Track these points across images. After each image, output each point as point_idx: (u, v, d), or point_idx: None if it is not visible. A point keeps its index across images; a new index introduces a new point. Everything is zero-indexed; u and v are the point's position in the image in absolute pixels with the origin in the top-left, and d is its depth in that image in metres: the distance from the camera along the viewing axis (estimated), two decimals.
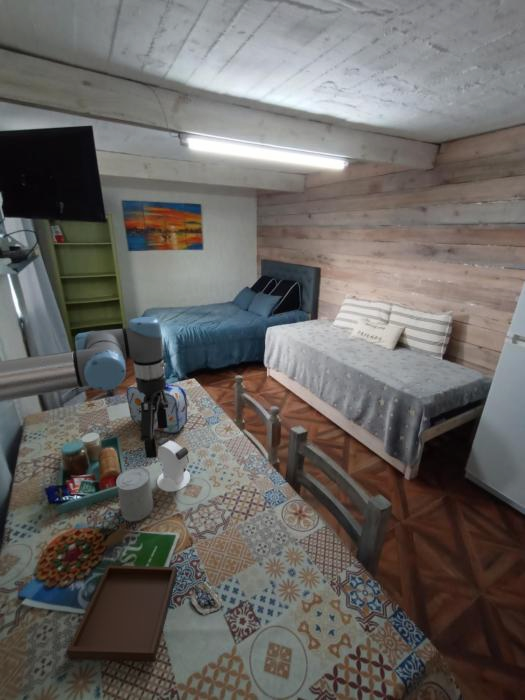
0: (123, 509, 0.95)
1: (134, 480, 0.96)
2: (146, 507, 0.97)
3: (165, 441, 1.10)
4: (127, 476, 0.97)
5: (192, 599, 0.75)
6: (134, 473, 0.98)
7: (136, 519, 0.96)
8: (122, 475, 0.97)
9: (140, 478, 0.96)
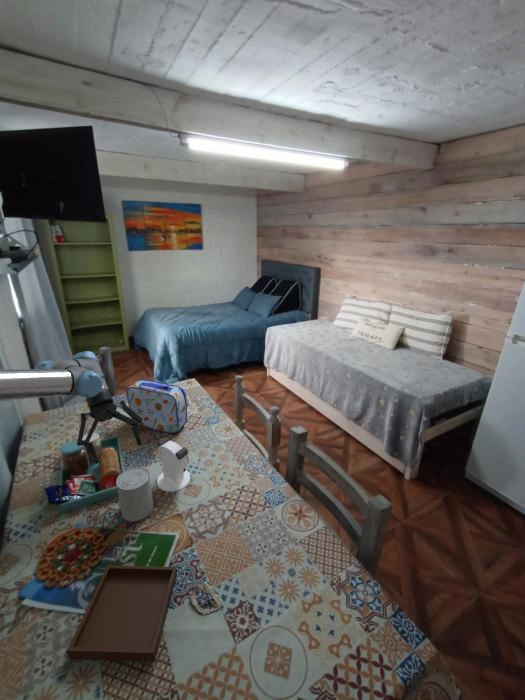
0: (123, 509, 0.95)
1: (134, 480, 0.96)
2: (146, 507, 0.97)
3: (165, 441, 1.10)
4: (127, 476, 0.97)
5: (192, 599, 0.75)
6: (134, 473, 0.98)
7: (136, 519, 0.96)
8: (122, 475, 0.97)
9: (140, 478, 0.96)
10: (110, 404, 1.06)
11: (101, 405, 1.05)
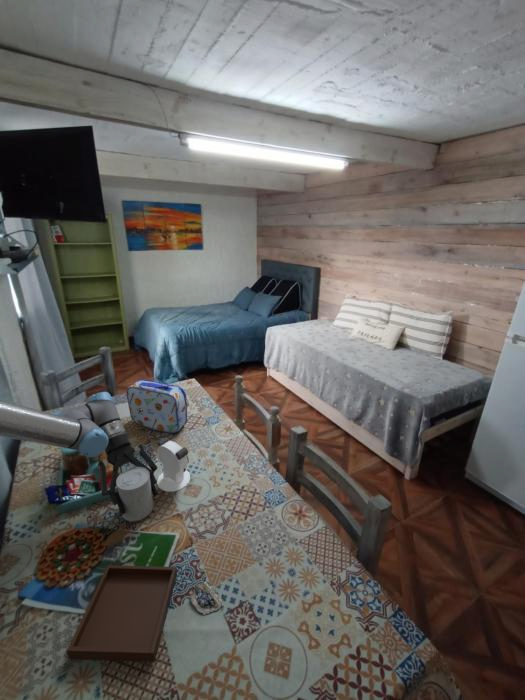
0: None
1: (134, 480, 0.96)
2: (146, 507, 0.97)
3: (165, 441, 1.10)
4: (127, 476, 0.97)
5: (192, 599, 0.75)
6: (134, 473, 0.98)
7: (136, 519, 0.96)
8: (122, 475, 0.97)
9: (140, 478, 0.96)
10: (128, 447, 1.02)
11: (118, 449, 1.00)
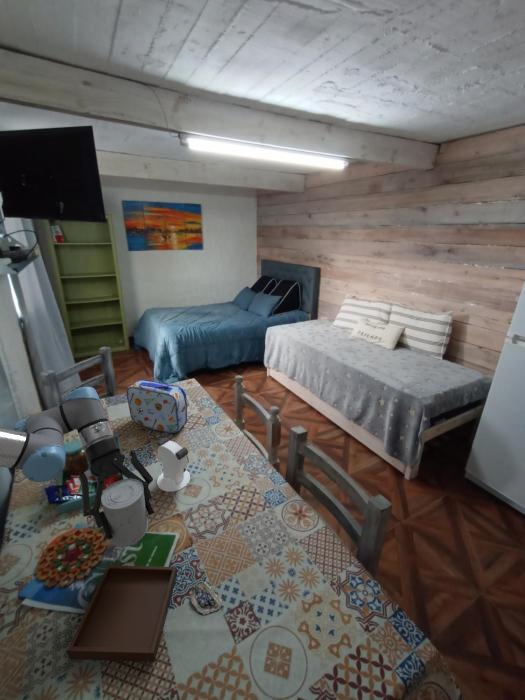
0: None
1: (124, 495, 0.77)
2: (138, 529, 0.78)
3: (165, 441, 1.10)
4: (116, 490, 0.78)
5: (192, 599, 0.75)
6: (124, 486, 0.79)
7: (126, 544, 0.77)
8: (109, 489, 0.78)
9: (131, 493, 0.77)
10: (116, 454, 0.83)
11: (105, 457, 0.81)
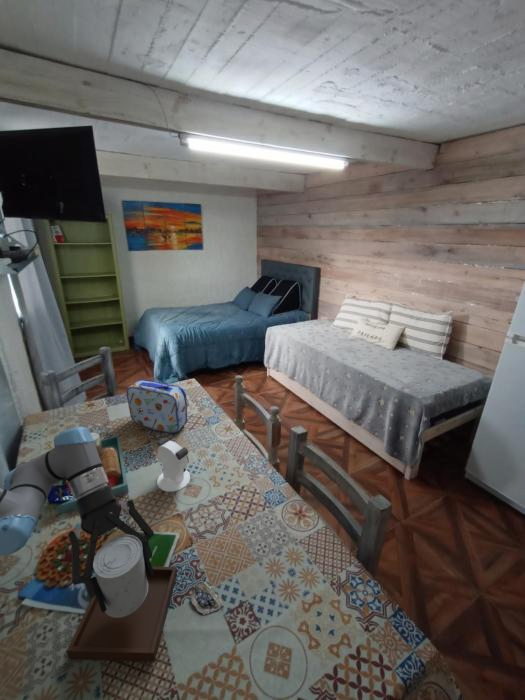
0: (104, 601, 0.66)
1: (120, 559, 0.66)
2: (137, 596, 0.67)
3: (165, 441, 1.10)
4: (110, 551, 0.67)
5: (192, 599, 0.75)
6: (120, 545, 0.69)
7: (123, 615, 0.67)
8: (103, 550, 0.68)
9: (128, 555, 0.67)
10: (112, 506, 0.72)
11: (98, 510, 0.70)
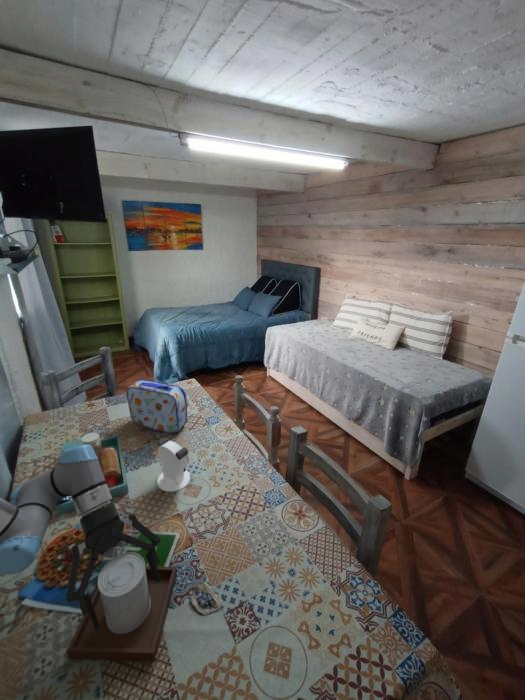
0: (108, 618, 0.68)
1: (123, 577, 0.68)
2: (140, 613, 0.69)
3: (165, 441, 1.10)
4: (114, 569, 0.69)
5: (192, 599, 0.75)
6: (123, 563, 0.71)
7: (126, 631, 0.68)
8: (107, 568, 0.70)
9: (132, 573, 0.69)
10: (115, 523, 0.74)
11: (102, 527, 0.72)
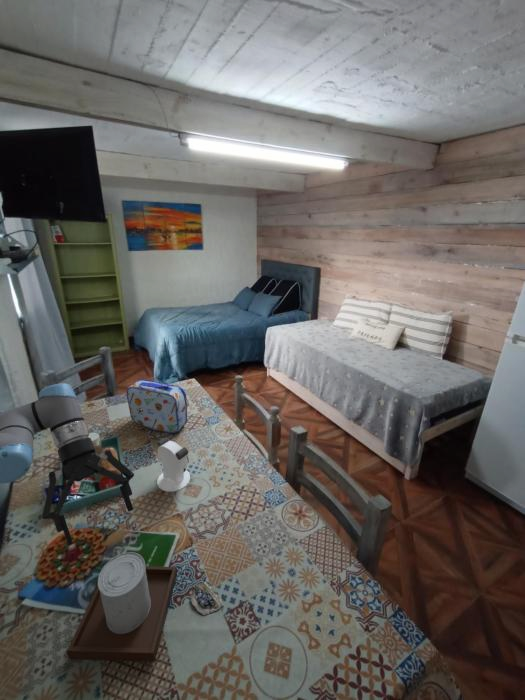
0: (108, 618, 0.68)
1: (123, 576, 0.68)
2: (140, 613, 0.69)
3: (165, 441, 1.10)
4: (114, 569, 0.69)
5: (192, 599, 0.75)
6: (124, 563, 0.71)
7: (126, 631, 0.68)
8: (107, 568, 0.70)
9: (132, 573, 0.69)
10: (91, 456, 0.79)
11: (78, 458, 0.77)
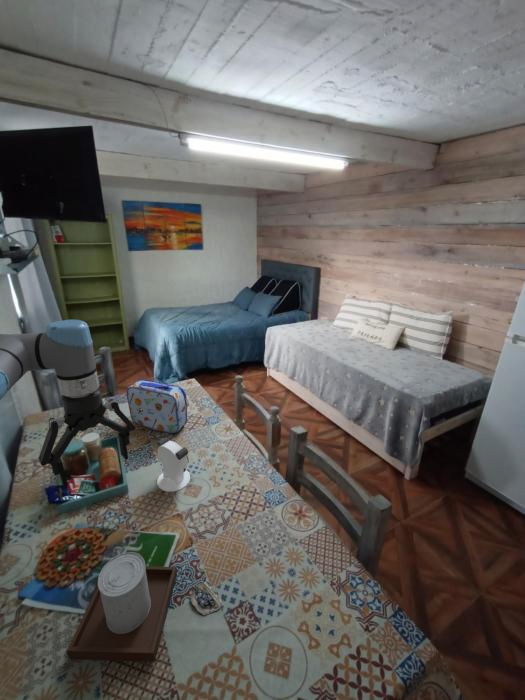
0: (108, 618, 0.68)
1: (123, 576, 0.68)
2: (140, 613, 0.69)
3: (165, 441, 1.10)
4: (114, 569, 0.69)
5: (192, 599, 0.75)
6: (124, 563, 0.71)
7: (126, 631, 0.68)
8: (107, 568, 0.70)
9: (132, 573, 0.69)
10: (97, 408, 0.71)
11: None
